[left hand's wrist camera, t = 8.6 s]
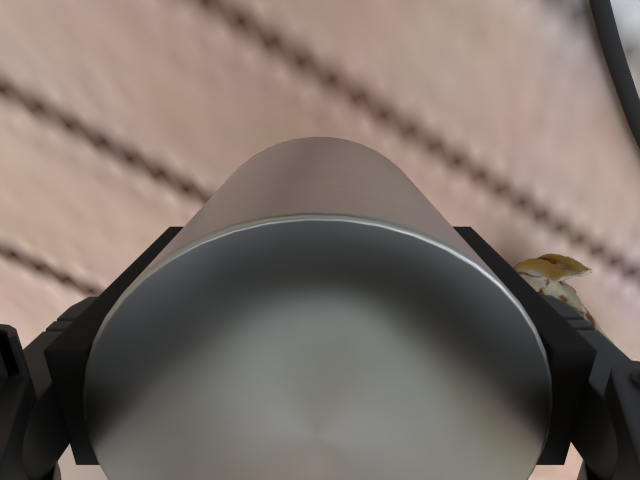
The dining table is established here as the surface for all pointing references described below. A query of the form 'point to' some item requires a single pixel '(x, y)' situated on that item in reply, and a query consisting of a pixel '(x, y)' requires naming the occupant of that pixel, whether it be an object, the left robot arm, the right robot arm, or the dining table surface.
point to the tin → (317, 338)
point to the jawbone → (556, 280)
